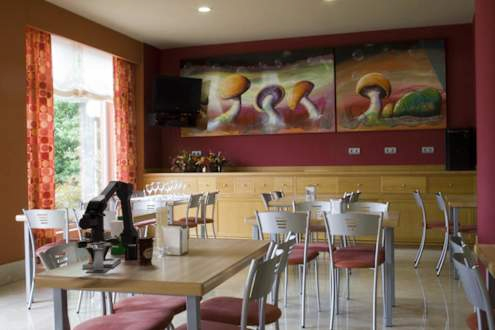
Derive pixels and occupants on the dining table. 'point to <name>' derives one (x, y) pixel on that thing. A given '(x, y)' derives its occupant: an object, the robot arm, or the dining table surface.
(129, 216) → the robot arm
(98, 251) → the cartridge
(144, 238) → the coffee cup
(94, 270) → the mat
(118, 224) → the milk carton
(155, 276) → the dining table surface
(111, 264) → the housing
